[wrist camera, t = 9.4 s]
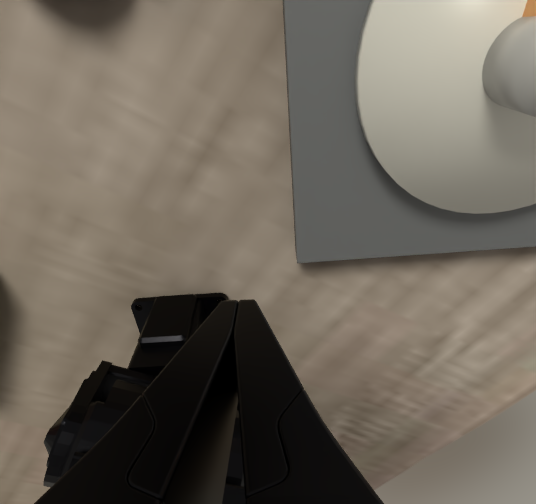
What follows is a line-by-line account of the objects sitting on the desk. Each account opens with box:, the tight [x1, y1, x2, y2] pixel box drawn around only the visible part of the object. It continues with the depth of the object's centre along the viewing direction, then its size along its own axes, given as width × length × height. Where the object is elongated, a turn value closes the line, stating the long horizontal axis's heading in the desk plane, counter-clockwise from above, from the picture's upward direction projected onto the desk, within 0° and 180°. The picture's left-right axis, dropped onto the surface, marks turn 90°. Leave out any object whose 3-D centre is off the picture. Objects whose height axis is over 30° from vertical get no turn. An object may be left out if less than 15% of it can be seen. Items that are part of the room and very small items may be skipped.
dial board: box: [283, 0, 536, 263], centre depth 17 cm, size 20×20×2 cm
